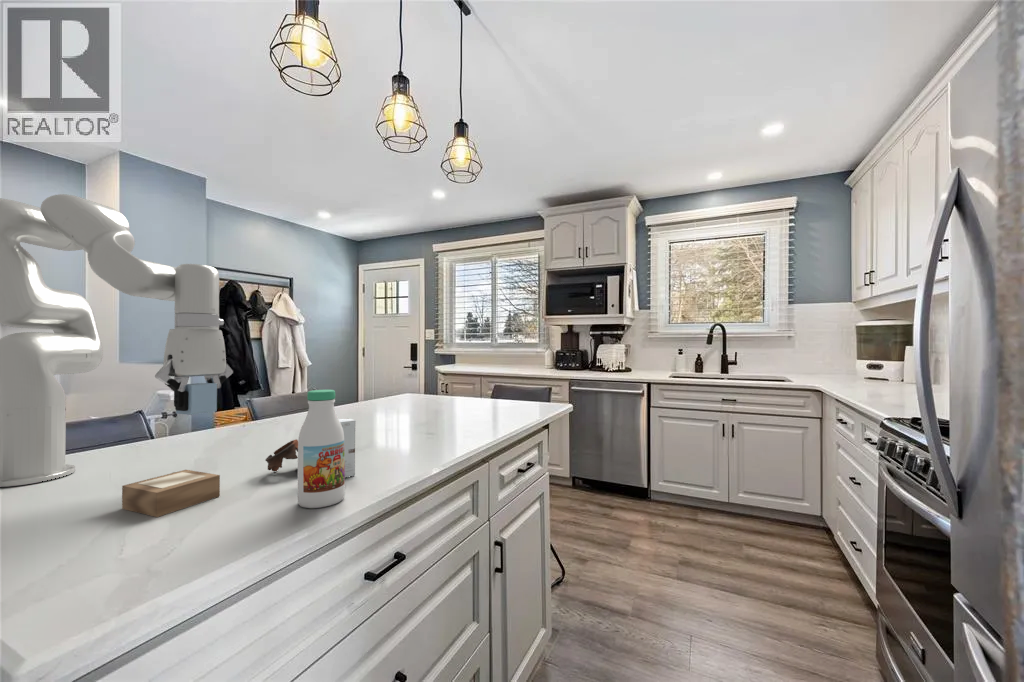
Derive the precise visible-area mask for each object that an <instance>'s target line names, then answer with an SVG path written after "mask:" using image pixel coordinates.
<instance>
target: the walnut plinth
mask: <svg viewBox="0 0 1024 682" xmlns="http://www.w3.org/2000/svg"><path fill="white" fill-rule="evenodd" d="M220 477H221V475H220V474H215V473H210V472H209V473H208V472H203V471H197V470H192V469H183V470H179V471H176V472H171V473H167V474H163V475H159V476H155V477H152V478H151V477H150V478H147V479H143V480H140V481H135V482H132V483H128V484H124V485H121V490H122V492H121V493H122V494H121V497H122V498H121V509H122V510H126V511H129V512H132V513H133V512H134V513H139V514H143V515H147V516H151V517H155V518H159V517H162V516H165V515H168V514H171V513H174V512H177V511H181V510H184V509H186V508H189V507H193V506H195V505H198V504H201V502H202V503H204V501H205V502H206V501H207V500H208V501H210V499H211V500H213V499H212V498H214V499H216V497H217V498H220V497H219V496H220V495H221V493H220V492H221V487H220V486H221V485H220V484H221V481H220V480H221V479H220Z"/></svg>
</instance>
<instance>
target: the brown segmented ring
mask: <svg viewBox="0 0 1024 682" xmlns="http://www.w3.org/2000/svg"><path fill="white" fill-rule="evenodd" d="M297 453H298V439H297V438H295V439H293V440H290V441H289V442H286V443H285V444H284V445H282V446H281V447H279V448H278V449H276V450H274V451H273V454H274V455H272V454H269V455H268V456H267V457H266V458H265V460H264V461H265V462H266V463H267V471H277V470H278V471H279V469H281V468H283V466H282V465H283V461H284V459H286V460H296V459H297V460H298V454H297ZM278 471H277V472H278Z"/></svg>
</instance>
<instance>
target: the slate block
mask: <svg viewBox="0 0 1024 682" xmlns="http://www.w3.org/2000/svg"><path fill="white" fill-rule="evenodd" d="M186 391H188V410H187V411H177V410H176V409H175V414H177V415H187V416H189V415H190V416H193V415H200V414H201V415H202V414H207V413H215V412H217V409H218V402H217V384H216V383H206V382H196V383H195V382H194V383H187V386H186Z"/></svg>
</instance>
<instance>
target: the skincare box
mask: <svg viewBox="0 0 1024 682" xmlns="http://www.w3.org/2000/svg"><path fill="white" fill-rule="evenodd" d="M338 419H339V421H340V423H341V425H342V428H343V433H344V449H345V477H347V478H350V477H349V476H352V477H354V476H355V475H356V420H355V419H353V418H348V417H347V418H346V417H345V418H338Z"/></svg>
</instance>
